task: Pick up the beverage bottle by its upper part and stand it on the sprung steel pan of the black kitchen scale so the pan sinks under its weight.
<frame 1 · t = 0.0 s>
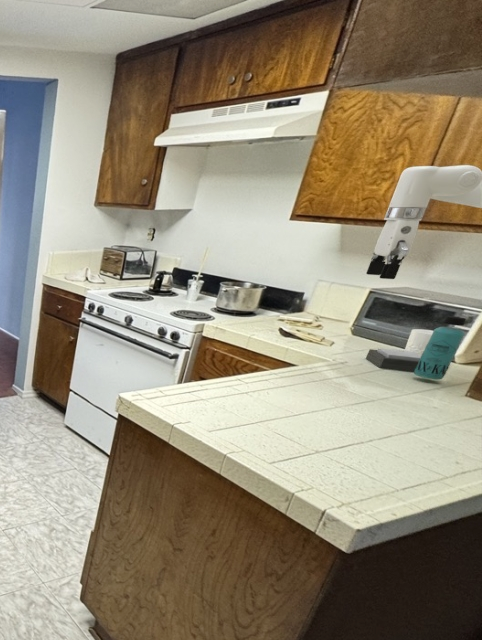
hand: (379, 276, 138), 30 cm above the counter, tool pointing down, fingers open, 9 cm apart
white cup: (415, 359, 165), on the counter
scale: (395, 366, 157), on the counter
beverage bottle: (425, 381, 144), on the counter
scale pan: (400, 355, 156), point 4 cm above the counter, slide at 0.0 cm
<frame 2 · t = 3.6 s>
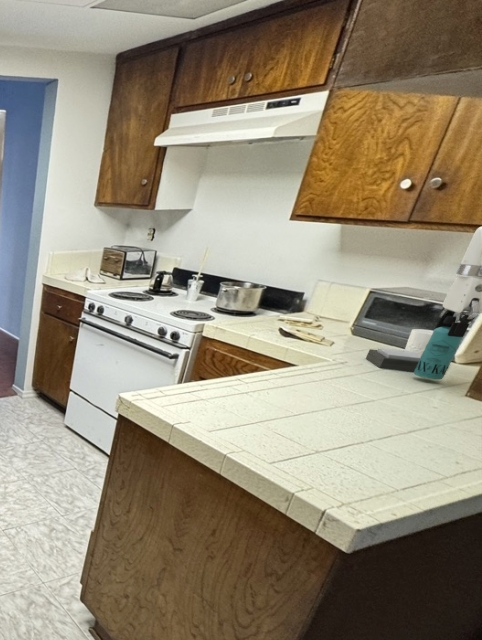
hand: (448, 333, 138), 15 cm above the counter, tool pointing down, fingers closed on beverage bottle, 6 cm apart
beverage bottle: (425, 381, 144), on the counter, touching gripper
everything else where it was.
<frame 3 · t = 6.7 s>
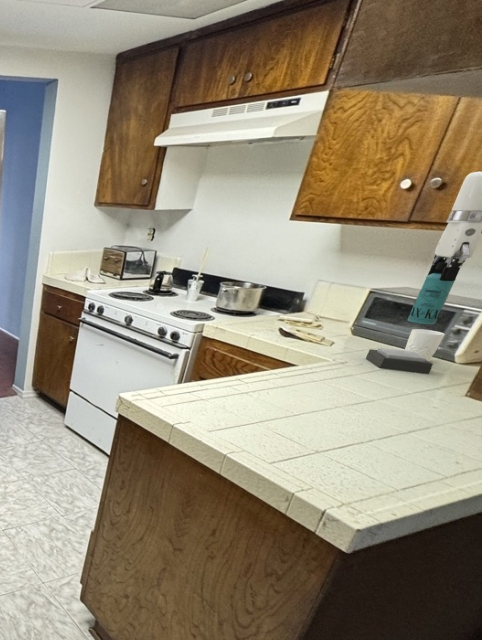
hand: (440, 278, 144), 29 cm above the counter, tool pointing down, fingers closed on beverage bottle, 6 cm apart
beverage bottle: (418, 327, 150), point 14 cm above the counter, touching gripper
everything else where it was.
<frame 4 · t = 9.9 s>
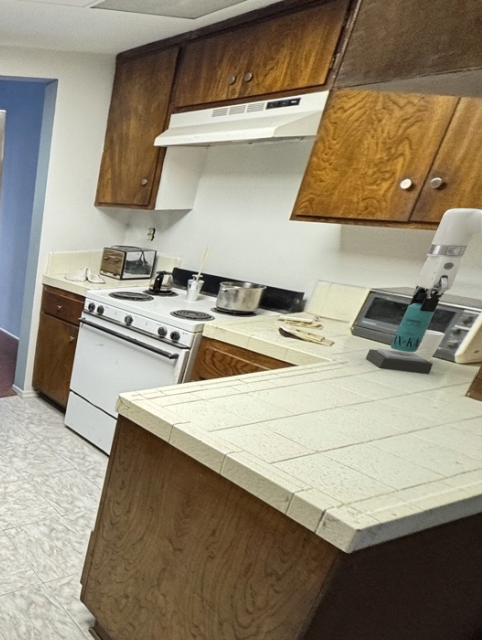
hand: (421, 308, 150), 19 cm above the counter, tool pointing down, fingers closed on beverage bottle, 6 cm apart
beverage bottle: (401, 354, 156), point 4 cm above the counter, touching gripper, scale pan
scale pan: (400, 355, 156), point 4 cm above the counter, slide at -0.2 cm, touching beverage bottle
everything else where it was.
when the fingers open (19 cm above the counter, at t = 10.0 s): beverage bottle stays where it is, resting on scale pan.
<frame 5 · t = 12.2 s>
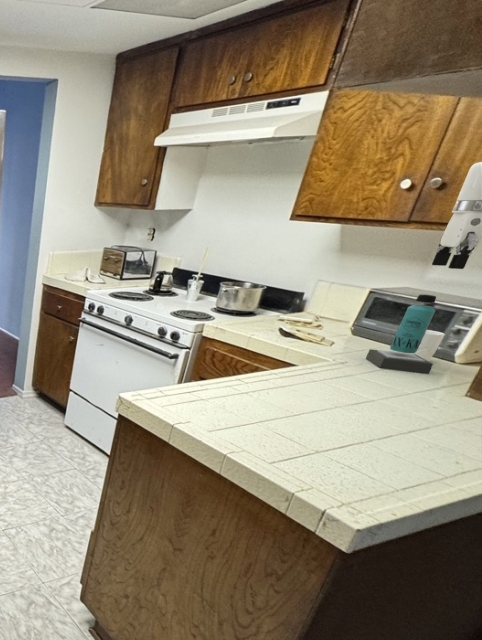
hand: (446, 266, 144), 33 cm above the counter, tool pointing down, fingers open, 9 cm apart
beverage bottle: (400, 355, 156), point 4 cm above the counter, touching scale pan
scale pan: (399, 357, 156), point 3 cm above the counter, slide at -0.7 cm, touching beverage bottle
everything else where it was.
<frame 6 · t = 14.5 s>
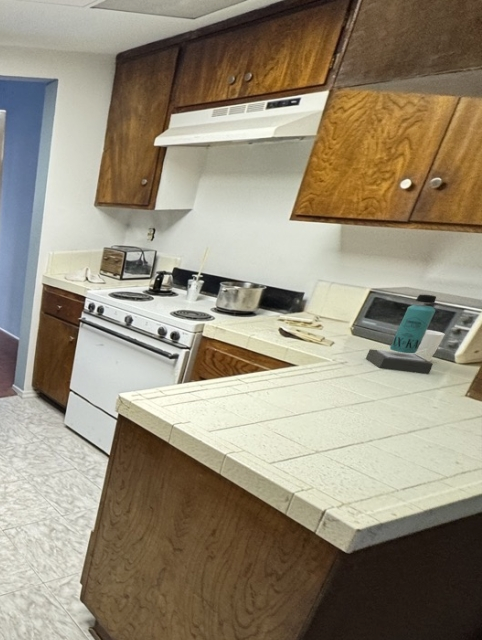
nothing on the counter moved.
at the end: beverage bottle 0.1 cm off-centre on the scale, point 3.7 cm above the scale's base; beverage bottle tilted 0°; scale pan slide at -0.7 cm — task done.
